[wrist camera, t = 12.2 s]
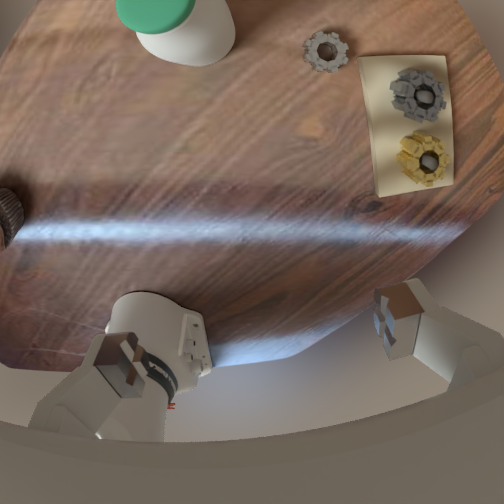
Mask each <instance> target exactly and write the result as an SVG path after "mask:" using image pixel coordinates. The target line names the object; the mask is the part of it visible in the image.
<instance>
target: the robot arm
mask: <svg viewBox="0 0 504 504" xmlns="http://www.w3.org/2000/svg"><path fill="white" fill-rule="evenodd" d="M374 299H375V301H376V303H377V305H376V307H375V308H374V322H375V327H376V330H377V333H378V335H379V336H380V337H382V338H383V339H384V341H383V347H384V349H385V351H386V354H387V356H388V358H389V360H393V359H397V358H401V357H405V356H408V355H412V354H413V356H415V357H416V358H417V359H419V360H420V361H421V362H423V363H424V364H425V365H427V366H428V367H430V368H431V369H432V370H434V371H435V372H437V373H438V374H439V375H441V376H442V377H443V378H445V379H446V380H447V381H449V382H450V384H449V387H448V389H447V391H446V392H444V393H442V394H439V395H437V396H434V397H431V398H428V399H425V400H422V401H420V402H417V403H414V404H411V405H408V406H405V407H401V408H399V409H395V410H392V411H388V412H385V413H381V414H378V415H374V416H370V417H366V418H363V419H359V420H355V421H350V422H346V423H342V424H338V425H333V426H328V427H323V428H318V429H313V430H307V431H302V432H296V433H289V434H282V435H275V436H268V437H259V438H250V439H239V440H227V441H209V442H164V429H165V419H166V411H167V409H175V408H170V406H173V405H175V403H170V402H171V400H172V399H173V397H174V395H175V394H179V393H184V392H187V391H190V390H192V389H193V388H195V387H196V385H197V382H198V378H199V377H202V376H205V375H207V374H209V373H210V372H211V371H212V361H211V357H210V352H209V347H208V342H207V337H206V331H205V326H204V321H203V317H202V315H201V314H200V313H198V312H195V311H192V310H189V309H185V308H183V307H181V306H179V305H178V304H176V303H175V302H173V301H171V300H170V299H168V298H166V297H163V296H161V295H158V294H154V293H149V292H134V293H129V294H126V295H124V296H122V297H121V298H119V299H118V300H117V301H116V303H115V304H114V306H113V309H112V315H111V320H110V321H109V322H108V324H107V326H106V329H105V332H106V333H107V334H98V335H96V336H95V337H94V339H93V341H92V343H91V345H90V347H89V350H88V352H87V354H86V356H85V358H84V361H83V363H82V365H81V367H77V368H76V369H75V370H74V371H73V372H71V373H70V374H69V375H68V376H67V377H66V378H65V379H64V380H62V381H61V382H60V383H59V384H58V385H57V386H56V387H55V388H53V389H52V390H51V391H50V392H49V393H48V394H47V395H46V396H44V397H43V398H42V399H41V400H40V401H39V402H38V403H37V406H36V408H35V410H34V413H33V415H32V418H31V420H30V423H29V425H28V427H24V426H20V425H15V424H11V423H7V422H3V421H0V504H504V338H503V337H502V335H501V334H500V333H499V332H497V331H494V330H492V329H490V328H488V327H486V326H484V325H482V324H480V323H477V322H475V321H473V320H471V319H469V318H467V317H464V316H463V315H460V314H458V313H456V312H454V311H452V310H450V309H447V308H445V307H441V308H440V307H439V306H438V304H437V303H436V302H435V300H434V299H433V297H432V296H431V294H430V293H429V292H428V290H427V289H426V288H425V286H424V285H423V283H422V282H421V281H420V280H419V279H418V278H414V279H410V280H407V281H403V282H400V283H396V284H392V285H388V286H384V287H380V288H376V289H375V292H374ZM196 324H197V325H196Z"/></svg>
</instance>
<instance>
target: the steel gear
mask: <svg viewBox="0 0 504 504" xmlns="http://www.w3.org/2000/svg"><path fill="white" fill-rule="evenodd" d="M398 75H399V78H397V79H398V81H396V82H391V83H390V88H389V90H392V91H393V94H394V95H395V96H393V97H394V99H395V100H393V101H391V103H392V105H393V107H394V108H395V109H397V110H401V111H403V112H404V115H403V116H404V117H406V118H409V119H412V120H415V121H417V122H420V123H422V122H423V119H424V120H427V121H430V122H434V121H436V120H438V119H439V118H438V116H437V114H439V111H441V109H444V110H445V108H446V104H447V102H445V101H443V99H444V97H442V95H443V91H444V90H446V89H445V87H444V85H443V83H442V82H438V81H435V79H434V78H433V75H434V73H432V72H430V71H427V70H415V69H414V70H402V71H400V72H398ZM417 86H420V88H421V90H423V91H428V92H431V93H432V94H433V101H432V103H425V102H421V103H419V104H416V102H415V100H414V98H413V96H414V92H415V87H417Z"/></svg>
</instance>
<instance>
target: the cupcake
mask: <svg viewBox="0 0 504 504" xmlns="http://www.w3.org/2000/svg"><path fill="white" fill-rule="evenodd" d="M23 222H24V211H23V207H22V204H21V202H20V200H19V198H18V197H17V196H16V194H15V193H13V192H12V191H11V190H9V189H5V188H1V189H0V253H1V252H2V251H4V250H5V249H6V248H7V247H9V245H10V244H11V242H12V240H13V239H14V237H15V235H16V234H17V233H18V231H19V230H20V228H21V226H22V225H23Z"/></svg>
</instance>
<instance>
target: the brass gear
mask: <svg viewBox="0 0 504 504" xmlns="http://www.w3.org/2000/svg"><path fill="white" fill-rule="evenodd" d="M399 143H400V144H401V145H402V147H401V149H402V150H400V154H396V162H398V163H399V164H400V165H402V167H403V170H402V171H401V172H402V173H403V174H405V175H406V176H407V177H408V178H410V179H411V180H412V181H413V182H415V183H416V184H418V182H420V183H422V184H423V185H424V186H426V187H431V186H433V182H434V181H436V179H437V180H438V179H441V180H443V178H444V177H445V175H446V173H445V172H444V171H445V168H444V167H446V164H448V163H450V155H448V154H446V153H445V150H444V147H445V146H446V145H445V144H444V143H443V141H442V140H440V139H438V138H436V137H433V136H431V135H429V134H426V133H423V132H421V131H413V136H410V138H408V139H407V138H405V137H403V138H402V140H401V141H400V142H399ZM424 151H427V155H429V156H431V157H433V158H434V159H436V160H437V163H438V164H437V167H436V168H435V169H434V170H431V169H429V168H428V167H426V166H425V165H421V166H419V158H420V157H421V155H422V154H423V153H424Z"/></svg>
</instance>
